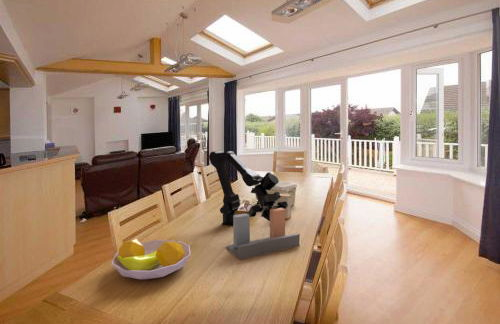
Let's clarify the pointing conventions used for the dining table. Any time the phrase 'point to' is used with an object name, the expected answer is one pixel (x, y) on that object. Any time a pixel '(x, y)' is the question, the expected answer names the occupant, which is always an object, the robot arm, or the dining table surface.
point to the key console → (264, 246)
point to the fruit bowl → (150, 258)
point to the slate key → (241, 229)
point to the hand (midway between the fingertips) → (275, 225)
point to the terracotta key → (277, 222)
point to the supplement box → (288, 199)
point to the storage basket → (284, 189)
